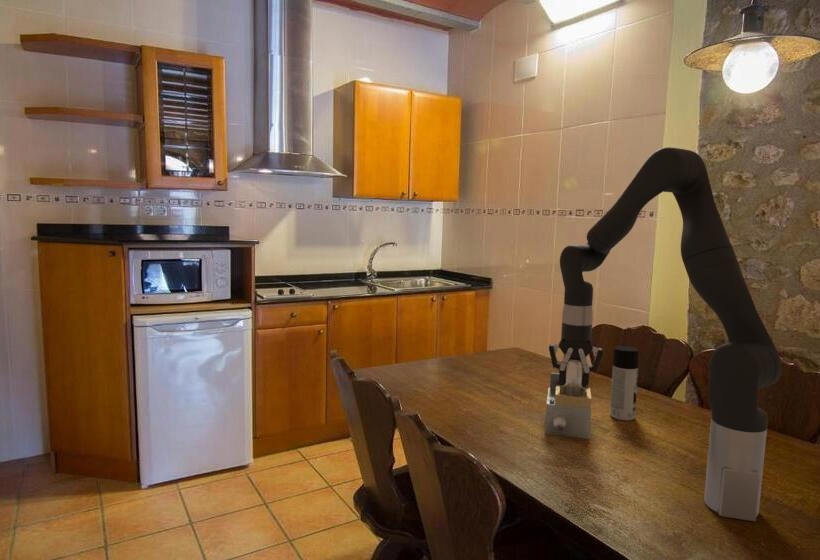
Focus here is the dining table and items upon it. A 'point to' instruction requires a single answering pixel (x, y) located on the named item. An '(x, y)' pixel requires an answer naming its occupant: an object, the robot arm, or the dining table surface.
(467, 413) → the dining table surface
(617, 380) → the spray can
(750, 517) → the robot arm
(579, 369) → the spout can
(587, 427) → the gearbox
